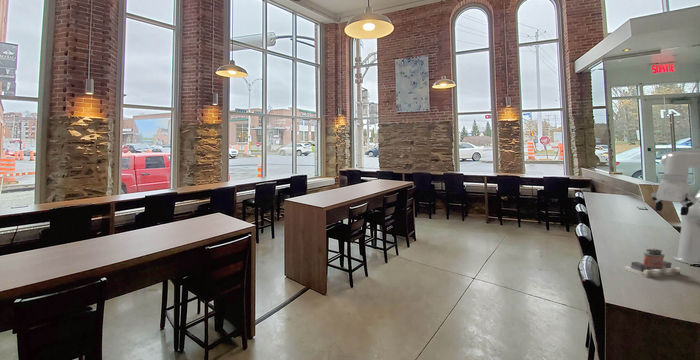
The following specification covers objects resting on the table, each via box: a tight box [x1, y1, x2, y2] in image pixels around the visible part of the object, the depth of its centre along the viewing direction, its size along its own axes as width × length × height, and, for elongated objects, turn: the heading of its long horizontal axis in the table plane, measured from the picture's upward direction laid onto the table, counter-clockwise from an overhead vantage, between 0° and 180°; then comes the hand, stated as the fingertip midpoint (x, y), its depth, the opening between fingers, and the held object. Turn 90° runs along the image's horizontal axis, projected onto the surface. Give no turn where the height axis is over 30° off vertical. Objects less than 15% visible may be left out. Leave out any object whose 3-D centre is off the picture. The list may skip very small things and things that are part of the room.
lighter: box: [642, 248, 665, 270], centre depth 137 cm, size 8×3×10 cm, turn 84°
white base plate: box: [624, 259, 682, 278], centre depth 138 cm, size 20×9×4 cm, turn 99°
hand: (670, 212), depth 140 cm, fingers open, 9 cm apart
